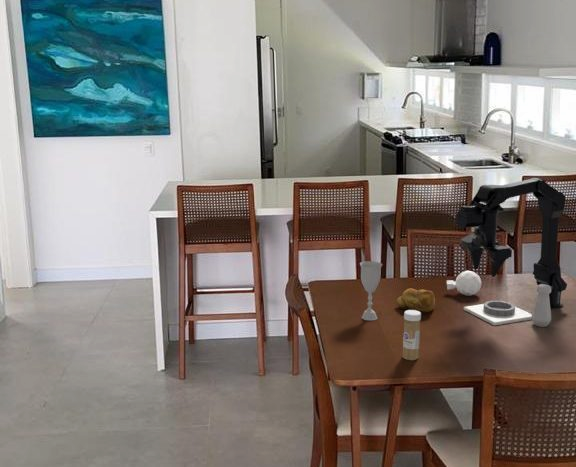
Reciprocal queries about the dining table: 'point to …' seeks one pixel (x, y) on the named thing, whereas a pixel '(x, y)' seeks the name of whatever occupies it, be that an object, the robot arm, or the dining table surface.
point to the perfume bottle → (466, 283)
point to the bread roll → (417, 300)
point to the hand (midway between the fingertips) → (484, 272)
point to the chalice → (370, 284)
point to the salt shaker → (542, 306)
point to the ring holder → (498, 312)
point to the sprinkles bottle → (411, 334)
